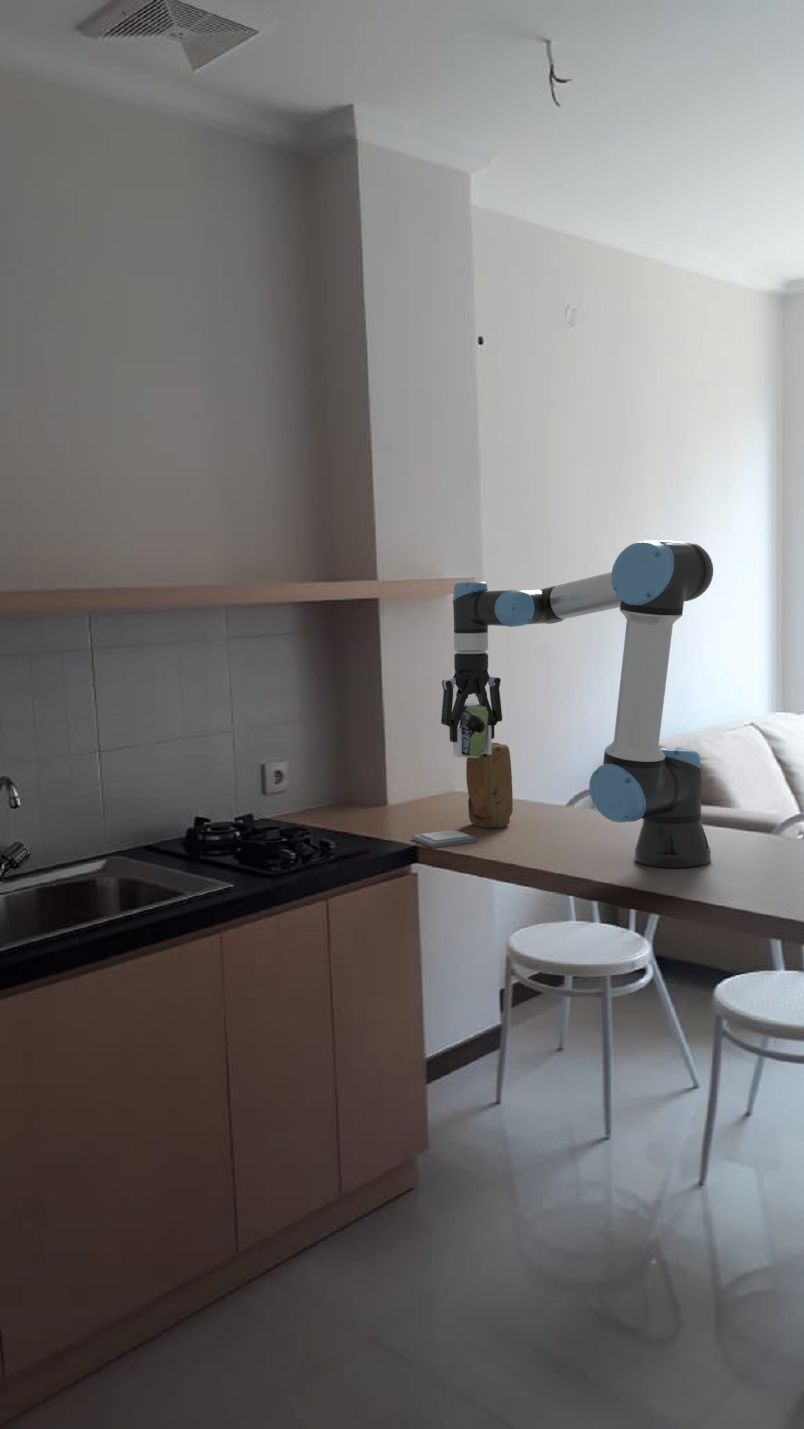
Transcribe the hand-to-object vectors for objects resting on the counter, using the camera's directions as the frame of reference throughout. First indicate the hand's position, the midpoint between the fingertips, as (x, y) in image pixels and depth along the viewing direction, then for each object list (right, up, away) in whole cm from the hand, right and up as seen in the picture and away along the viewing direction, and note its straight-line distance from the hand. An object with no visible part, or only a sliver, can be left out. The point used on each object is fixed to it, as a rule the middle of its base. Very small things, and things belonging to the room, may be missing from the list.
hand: (472, 754), depth 252 cm
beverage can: (0, -1, 0) cm, 1 cm away
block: (+5, -18, +22) cm, 29 cm away
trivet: (-6, -20, +7) cm, 22 cm away
